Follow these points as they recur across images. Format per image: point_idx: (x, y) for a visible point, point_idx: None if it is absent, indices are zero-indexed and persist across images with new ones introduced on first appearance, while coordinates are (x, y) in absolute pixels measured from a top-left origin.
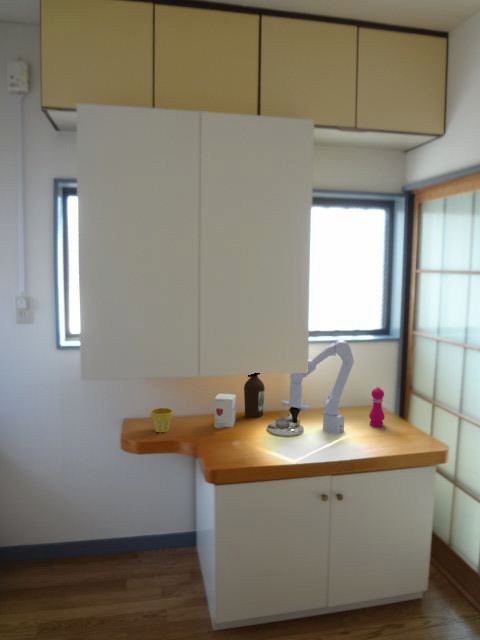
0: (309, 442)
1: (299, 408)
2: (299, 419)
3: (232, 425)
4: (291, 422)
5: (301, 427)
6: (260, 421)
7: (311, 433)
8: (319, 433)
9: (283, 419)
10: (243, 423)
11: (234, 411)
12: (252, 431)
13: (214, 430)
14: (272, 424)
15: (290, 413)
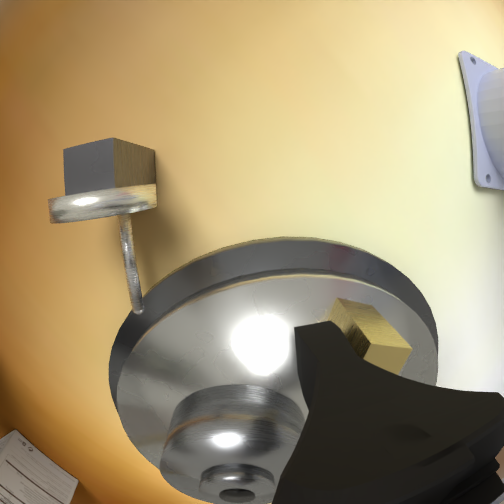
0: (471, 379)
1: (496, 497)
2: (404, 358)
3: (68, 485)
4: (223, 303)
5: (408, 334)
6: (7, 345)
7: (453, 265)
8: (486, 217)
9: (267, 497)
10: (20, 416)
11: (15, 496)
12: (137, 476)
13: (73, 495)
14: (155, 446)
15: (64, 204)
